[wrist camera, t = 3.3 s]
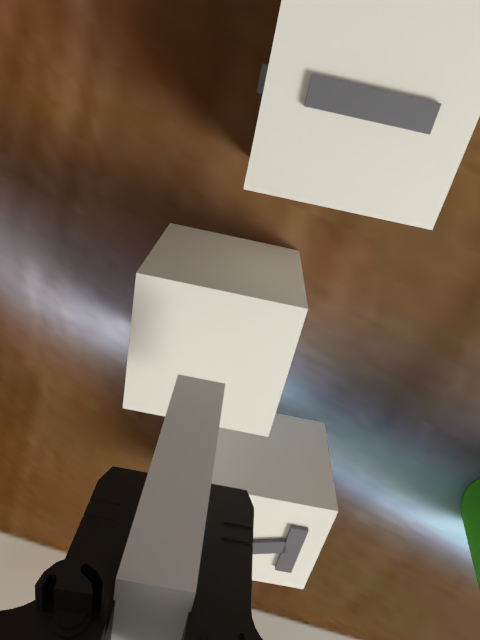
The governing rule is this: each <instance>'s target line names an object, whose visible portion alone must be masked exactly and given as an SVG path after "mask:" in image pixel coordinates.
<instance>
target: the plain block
mask: <svg viewBox="0 0 480 640" xmlns="http://www.w3.org/2000/svg"><path fill="white" fill-rule="evenodd" d="M307 311H308V306H307V299H306V293H305V286H304V280H303V273H302V267H301V260H300V254H299V250H294V249H289V248H285V247H280V246H275V245H271V244H266V243H261V242H257V241H252V240H247V239H243V238H238V237H233V236H229V235H224V234H219V233H215V232H210V231H206V230H201V229H196V228H192V227H187V226H182V225H178V224H173V223H170V224H169V225H168V227H167V228H166V230H165V231H164V233H163V234H162V236H161V237H160V239H159V240H158V242H157V243H156V244H155V246H154V247H153V249H152V250H151V252H150V253H149V255H148V256H147V258H146V259H145V261H144V262H143V263H142V265H141V266H140V268H139V269H138V271H137V272H136V279H135V289H134V299H133V309H132V319H131V329H130V339H129V349H128V359H127V369H126V379H125V389H124V399H123V408H124V409H129V410H134V411H139V412H144V413H150V414H155V415H160V416H166V412H167V409H168V406H169V403H170V399H171V396H172V393H173V389H174V386H175V383H176V380H177V376H178V374H179V375H184V376H189V377H194V378H199V379H205V380H210V381H215V382H220V383H225V390H224V397H223V404H222V411H221V418H220V425H219V427H220V428H225V429H230V430H236V431H241V432H246V433H251V434H256V435H261V436H266V437H268V436H269V433H270V430H271V427H272V424H273V420H274V417H275V414H276V411H277V407H278V404H279V401H280V398H281V395H282V391H283V388H284V385H285V382H286V378H287V375H288V372H289V369H290V365H291V362H292V359H293V356H294V353H295V349H296V346H297V343H298V340H299V336H300V333H301V330H302V327H303V324H304V320H305V317H306V314H307Z"/></svg>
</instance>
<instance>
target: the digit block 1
mask: <svg viewBox="0 0 480 640" xmlns="http://www.w3.org/2000/svg"><path fill="white" fill-rule="evenodd" d="M257 94H262V100H261V105H260V110H259V115H258V120H257V125H256V130H255V135H254V140H253V145H252V150H251V155H250V160H249V165H248V170H247V175H246V180H245V185H244V189H245V190H250V191H254V192H259V193H264V194H268V195H273V196H277V197H282V198H287V199H291V200H296V201H300V202H305V203H310V204H314V205H319V206H323V207H328V208H333V209H337V210H342V211H347V212H351V213H356V214H360V215H365V216H370V217H374V218H379V219H383V220H388V221H393V222H397V223H402V224H406V225H411V226H416V227H420V228H425V229H430V230H432V229H433V227H434V225H435V222H436V220H437V217H438V215H439V213H440V210H441V208H442V205H443V203H444V201H445V198H446V196H447V193H448V191H449V189H450V186H451V184H452V181H453V179H454V176H455V174H456V172H457V169H458V167H459V164H460V162H461V160H462V157H463V155H464V152H465V150H466V148H467V145H468V143H469V140H470V138H471V136H472V133H473V131H474V128H475V126H476V123H477V121H478V119H479V116H480V0H281V5H280V10H279V15H278V20H277V25H276V30H275V35H274V40H273V45H272V50H271V55H270V60H269V65H267V64H262V67H261V72H260V77H259V82H258V87H257Z"/></svg>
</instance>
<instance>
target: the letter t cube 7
mask: <svg viewBox="0 0 480 640" xmlns="http://www.w3.org/2000/svg"><path fill="white" fill-rule="evenodd" d="M211 484H216V485H222V486H227V487H232V488H238V489H243V490H247V492H248V494H249V497H250V499H251V502H252V504H253V507H254V528H253V546H252V547H253V559H252V580H255V581H261V582H266V583H272V584H277V585H283V586H288V587H294V588H299V589H303V588H304V586H305V584H306V582H307V580H308V577H309V575H310V573H311V571H312V569H313V566H314V564H315V562H316V560H317V557H318V555H319V553H320V551H321V549H322V546H323V544H324V542H325V540H326V537H327V535H328V533H329V531H330V529H331V526H332V524H333V522H334V520H335V518H336V515H337V513H338V506H337V500H336V493H335V487H334V480H333V474H332V467H331V461H330V454H329V448H328V441H327V435H326V428H325V423H323V422H318V421H313V420H308V419H303V418H298V417H293V416H288V415H283V414H278V413H276V414H275V417H274V420H273V424H272V427H271V430H270V433H269V436H268V437H266V436H261V435H256V434H251V433H246V432H241V431H236V430H230V429H225V428H220V427H219V432H218V439H217V446H216V454H215V461H214V468H213V475H212V482H211Z"/></svg>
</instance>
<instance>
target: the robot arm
mask: <svg viewBox="0 0 480 640" xmlns="http://www.w3.org/2000/svg"><path fill="white" fill-rule="evenodd" d="M224 390H225V383H220V382H215V381H210V380H205V379H199V378H194V377H189V376H184V375H179V374H178V376H177V380H176V383H175V386H174V389H173V393H172V396H171V399H170V403H169V406H168V409H167V412H166V416H165V419H164V422H163V425H162V429H161V432H160V435H159V439H158V442H157V445H156V448H155V452H154V455H153V458H152V462H151V465H150V468H149V471H148V473H146V472H140V471H135V470H130V469H124V468H119V467H114V466H113V467H112V468H111V469H110V470H109V471H108V472H106V473H105V474H104V475H103V476H102V477H101V478H100V479H99V480H98V482H97V485H96V487H95V489H94V492H93V494H92V496H91V499H90V502H89V503H88V506H87V508H86V511H85V513H84V517H83V518H82V520H81V522H80V525H79V527H78V529H77V532H76V534H75V537H74V539H73V541H72V544H71V546H70V548H69V551H68V553H67V556H66V558H65V559H64V560H61V561H59V562H56V563H55V564H54V565H52V566H51V567H50V568H48V569H47V570H46V571H44V573H43V574H42V575H41V577H40V578H39V580H38V581H37V583H36V585H35V597H36V598H35V600H34V601H32V602H31V603H28V604H26V605H24V606H21V607H17V608H14V609H9V610H3V611H0V640H263V639H262V638H261V637H260V635H259V633H258V632H257V630H256V628H255V626H254V622H253V619H252V613H251V589H252V559H253V547H252V546H253V528H254V507H253V504H252V502H251V499H250V497H249V494H248V492H247V490H243V489H238V488H232V487H227V486H222V485H216V484H211V482H212V475H213V468H214V461H215V454H216V446H217V439H218V432H219V425H220V418H221V411H222V404H223V397H224Z"/></svg>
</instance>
